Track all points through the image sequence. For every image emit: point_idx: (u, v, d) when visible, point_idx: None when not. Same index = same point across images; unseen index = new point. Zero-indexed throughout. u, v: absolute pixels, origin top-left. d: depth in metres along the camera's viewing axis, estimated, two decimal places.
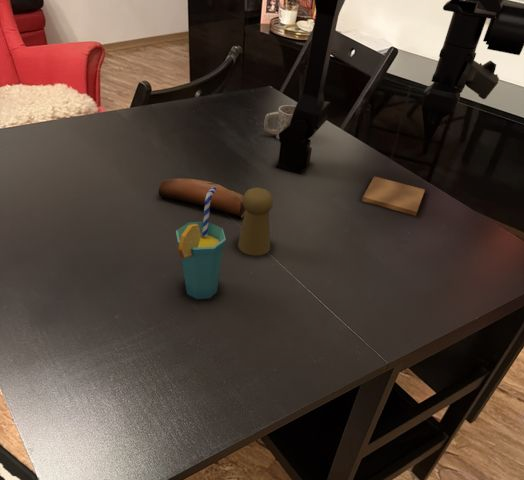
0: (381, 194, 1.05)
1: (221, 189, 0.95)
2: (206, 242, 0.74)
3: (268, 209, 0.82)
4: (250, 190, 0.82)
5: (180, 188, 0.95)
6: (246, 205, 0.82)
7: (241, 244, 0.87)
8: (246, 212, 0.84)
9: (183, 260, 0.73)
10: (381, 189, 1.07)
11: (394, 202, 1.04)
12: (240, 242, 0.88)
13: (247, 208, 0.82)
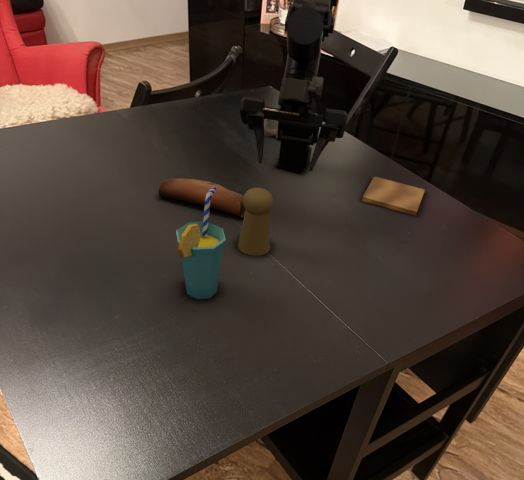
0: (381, 194, 1.05)
1: (221, 189, 0.95)
2: (206, 242, 0.74)
3: (268, 209, 0.82)
4: (250, 190, 0.82)
5: (180, 188, 0.95)
6: (246, 205, 0.82)
7: (241, 244, 0.87)
8: (246, 212, 0.84)
9: (183, 260, 0.73)
10: (381, 189, 1.07)
11: (394, 202, 1.04)
12: (240, 242, 0.88)
13: (247, 208, 0.82)
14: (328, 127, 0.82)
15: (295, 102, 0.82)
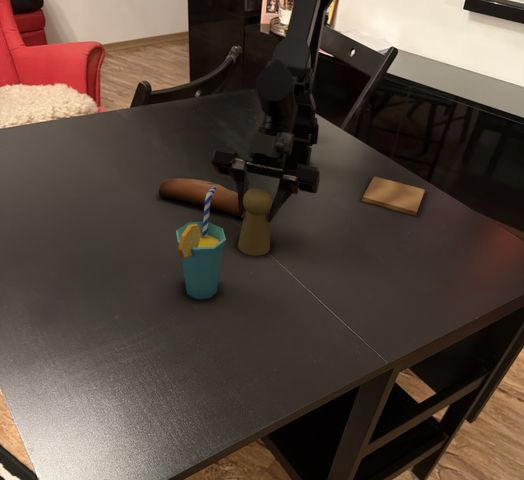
0: (381, 194, 1.05)
1: (221, 189, 0.95)
2: (205, 242, 0.74)
3: (268, 209, 0.82)
4: (250, 190, 0.82)
5: (180, 188, 0.95)
6: (246, 205, 0.82)
7: (241, 244, 0.87)
8: (246, 212, 0.84)
9: (183, 260, 0.73)
10: (381, 189, 1.07)
11: (394, 202, 1.04)
12: (240, 242, 0.88)
13: (247, 208, 0.82)
14: (287, 180, 0.80)
15: (266, 156, 0.81)
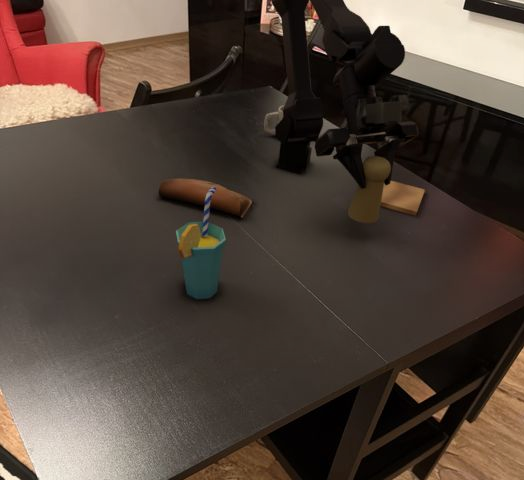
0: None
1: (221, 189, 0.95)
2: (206, 242, 0.74)
3: None
4: (370, 160, 0.84)
5: (180, 188, 0.95)
6: (374, 175, 0.84)
7: (361, 216, 0.90)
8: (369, 183, 0.86)
9: (183, 260, 0.73)
10: None
11: (394, 202, 1.04)
12: (359, 214, 0.90)
13: (375, 178, 0.84)
14: (398, 140, 0.85)
15: (374, 123, 0.83)
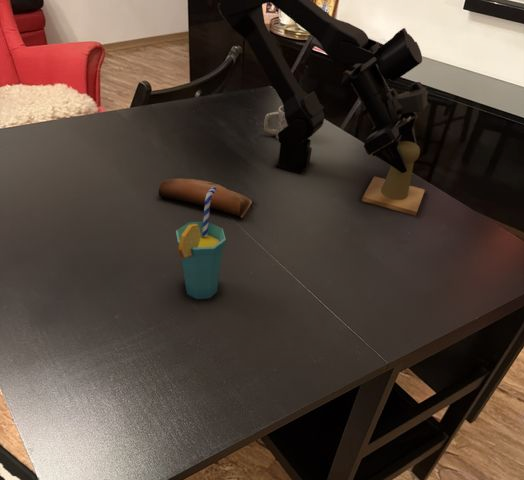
0: (381, 194, 1.05)
1: (221, 189, 0.95)
2: (205, 242, 0.74)
3: None
4: (406, 146, 0.98)
5: (180, 188, 0.95)
6: (414, 157, 0.98)
7: (402, 194, 1.04)
8: (408, 165, 1.00)
9: (183, 260, 0.73)
10: None
11: (394, 202, 1.04)
12: (400, 193, 1.04)
13: (414, 159, 0.99)
14: (416, 118, 1.01)
15: None
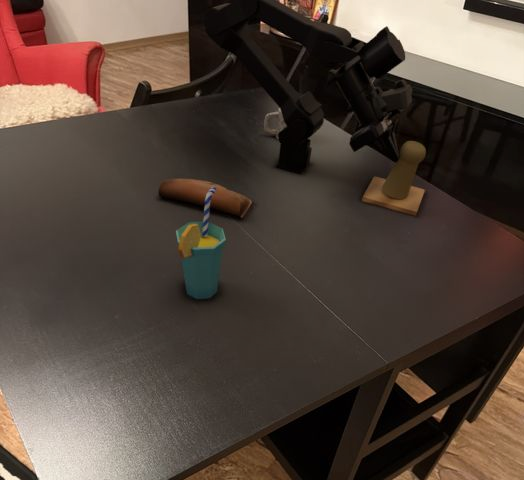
0: (381, 194, 1.05)
1: (221, 189, 0.95)
2: (205, 242, 0.74)
3: None
4: (413, 147, 0.97)
5: (180, 188, 0.95)
6: (419, 159, 0.98)
7: (403, 194, 1.04)
8: (412, 166, 0.99)
9: (183, 260, 0.73)
10: (381, 189, 1.07)
11: (394, 202, 1.04)
12: (401, 193, 1.04)
13: (419, 161, 0.98)
14: (396, 121, 0.99)
15: None
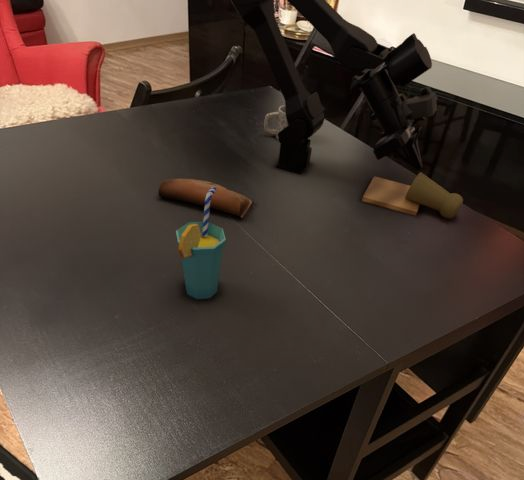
0: (381, 194, 1.05)
1: (221, 189, 0.95)
2: (206, 242, 0.74)
3: None
4: (455, 212, 1.00)
5: (179, 188, 0.95)
6: (443, 216, 1.02)
7: (410, 199, 1.04)
8: (437, 210, 1.02)
9: (183, 260, 0.73)
10: (381, 189, 1.07)
11: (394, 202, 1.04)
12: (410, 199, 1.03)
13: (442, 215, 1.03)
14: (420, 129, 0.98)
15: None
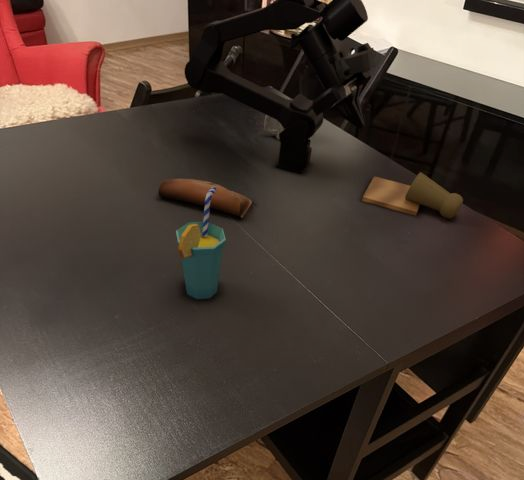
0: (381, 194, 1.05)
1: (221, 189, 0.95)
2: (206, 242, 0.74)
3: None
4: (455, 212, 1.00)
5: (179, 188, 0.95)
6: (443, 216, 1.02)
7: (410, 199, 1.04)
8: (437, 210, 1.02)
9: (183, 260, 0.73)
10: (381, 189, 1.07)
11: (394, 202, 1.04)
12: (410, 199, 1.03)
13: (442, 215, 1.03)
14: (360, 87, 0.98)
15: None
